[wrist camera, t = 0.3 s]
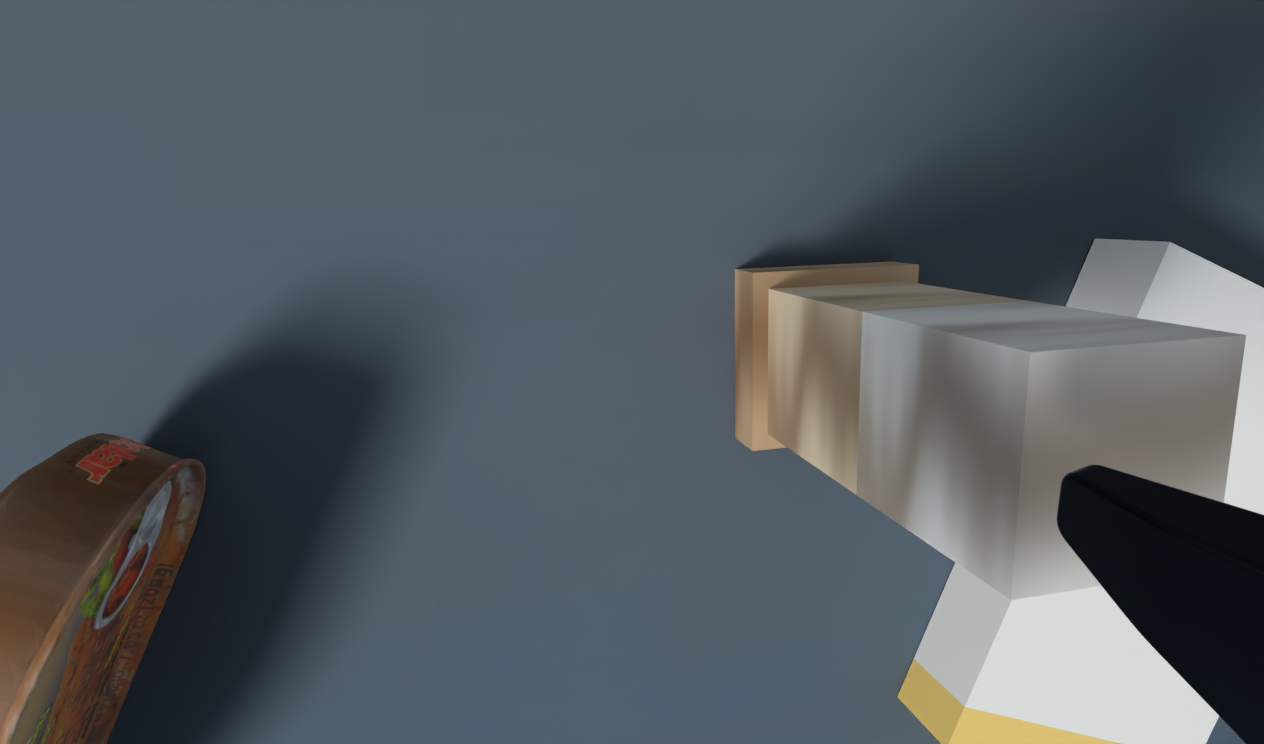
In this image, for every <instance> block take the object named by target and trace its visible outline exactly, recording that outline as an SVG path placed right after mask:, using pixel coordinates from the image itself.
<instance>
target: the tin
mask: <svg viewBox="0 0 1264 744" xmlns="http://www.w3.org/2000/svg"><path fill="white" fill-rule="evenodd" d="M205 487H206V471H205V468H204V465H203V464H202V462H201V461H199V460H197V459H192V458H186V459H182V458H179V457H176V456H173V455H170V454H167V453H165V452H162V451H159V450H156V449H153V448H151V447H148V446H145V445H143V444H140V443H137V442H134V441H132V440H129V439H126V438H123V437H119V436H114V435H110V434H103V433H101V434H95V435H90V436H87V437H85V438H83V439H80V440H78V441H76V442H74V443H72V444H70V445H69V446H67V447H65V448H64V449H62V450H60V451H59V452H57V453H56V454H54V455H53V456H51V457H50V458H48V459H47V460H45V461H43V462H42V463H40V464H38V465H36V466H35V467H33V468H31V469H30V470H28V471H26V472H25V473H23V474H22V475H21V476H19V477H18V478H17V479H16V480H14V481H13V482H12V483H11V484H10V485H9V486H7V487H6V488H5V489H4V490H3V491H2V492H1V493H0V744H107V742H108V739H109V736H110V734H111V732H112V729H113V727H114V724H115V722H116V720H117V717H118V715H119V712H120V710H121V707H122V705H123V703H124V700H125V698H126V696H127V693H128V691H129V688H130V685H131V683H132V681H133V678H134V676H135V674H136V671H137V669H138V666H139V664H140V662H141V659H142V657H143V654H144V652H145V650H146V647H147V645H148V643H149V640H150V638H151V635H152V633H153V630H154V628H155V626H156V624H157V621H158V619H159V616H160V614H161V612H162V609H163V607H164V604H165V602H166V600H167V597H168V595H169V592H170V590H171V588H172V585H173V583H174V580H175V578H176V575H177V573H178V570H179V568H180V566H181V563H182V561H183V558H184V556H185V554H186V551H187V549H188V546H189V543H190V541H191V538H192V535H193V532H194V529H195V527H196V524H197V519H198V516H199V513H200V509H201V505H202V502H203V498H204V493H205Z"/></svg>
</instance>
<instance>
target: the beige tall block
mask: <svg viewBox="0 0 1264 744" xmlns="http://www.w3.org/2000/svg"><path fill="white" fill-rule="evenodd" d="M918 276H919V264H910V263H902V262H893V261H892V262H871V263H851V264H830V265H810V266H789V267H768V268H748V269H735V438H736V439H737V440H739V441H740V442H741V443H743V444H744V445H745V446H746V447H748V448H749V449H750V450H752V451H757V450H767V449H776V448H786V447H787V448H789V449H790V450H792V451H793V452H795V453H796V454H798V455H799V456H800V457H802V458H803V459H805V460H806V461H808V462H809V463H811V464H812V465H814V466H815V467H817V468H818V469H820V470H821V471H822V472H824V473H825V474H827V475H828V476H830V477H831V478H833V479H834V480H836V481H837V482H839V483H840V484H841V485H843V486H844V487H846V488H847V489H849V490H850V491H852V492H853V493H855V494H856V495H858V496H859V497H861V498H862V499H863V500H865V501H866V502H868V503H869V504H871V505H872V506H874V507H875V508H877V509H878V510H880V511H881V512H882V513H884V514H885V515H887V516H888V517H890V518H891V519H893V520H894V521H896V522H897V523H899V524H900V525H901V526H903V527H904V528H906V529H907V530H909V531H910V532H912V533H913V534H915V535H916V536H918V537H919V538H921V539H922V540H923V541H925V542H926V543H928V544H929V545H931V546H932V547H934V548H935V549H937V550H938V551H940V552H941V553H942V554H944V555H945V556H947V557H948V558H950V559H951V560H953V561H954V562H956V563H957V564H959V565H960V566H962V567H963V568H964V569H966V570H967V571H969V572H970V573H972V574H973V575H975V576H976V577H978V578H979V579H981V580H982V581H983V582H985V583H986V584H988V585H989V586H991V587H992V588H994V589H995V590H997V591H998V592H1000V593H1001V594H1003V595H1004V596H1005V597H1007V598H1008V599H1010V600H1015V599H1022V598H1028V597H1034V596H1040V595H1047V594H1053V593H1059V592H1065V591H1072V590H1078V589H1084V588H1091V587H1097V586H1101V585H1100V583H1099V582H1098V581H1097V580H1096V578H1095V577H1094V576H1093V575H1092V573H1091V572H1090V571H1089V570H1088V568H1087V567H1086V566H1085V565H1084V563H1083V562H1082V561H1081V560H1080V558H1079V557H1078V556H1077V555H1076V553H1075V552H1074V551H1073V550H1072V548H1071V547H1070V546H1069V545H1068V543H1067V542H1066V541H1065V540H1064V538H1063V537H1062V535H1061V533H1060V531H1059V528H1058V525H1057V511H1058V503H1059V495H1060V487H1061V482H1062V479H1063V477H1064V476H1065V475H1066V474H1068V473H1070V472H1073V471H1075V470H1077V469H1080V468H1082V467H1085V466H1088V465H1101V466H1105V467H1108V468H1111V469H1115V470H1118V471H1121V472H1124V473H1128V474H1131V475H1134V476H1138V477H1141V478H1144V479H1147V480H1151V481H1154V482H1157V483H1161V484H1164V485H1167V486H1170V487H1174V488H1177V489H1180V490H1184V491H1187V492H1190V493H1194V494H1197V495H1200V496H1203V497H1207V498H1210V499H1213V500H1217V501H1220V502H1223V503H1224V497H1225V490H1226V482H1227V475H1228V467H1229V460H1230V452H1231V445H1232V437H1233V430H1234V423H1235V415H1236V408H1237V400H1238V393H1239V385H1240V378H1241V370H1242V363H1243V355H1244V348H1245V341H1246V335H1243V334H1237V333H1230V332H1224V331H1217V330H1211V329H1205V328H1198V327H1192V326H1186V325H1179V324H1173V323H1166V322H1160V321H1154V320H1147V319H1141V318H1134V317H1128V316H1122V315H1115V314H1109V313H1102V312H1096V311H1090V310H1083V309H1077V308H1071V307H1064V306H1058V305H1051V304H1045V303H1039V302H1032V301H1026V300H1019V299H1013V298H1007V297H1000V296H994V295H987V294H981V293H975V292H968V291H962V290H956V289H949V288H943V287H936V286H930V285H924V284H918Z"/></svg>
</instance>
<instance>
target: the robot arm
mask: <svg viewBox="0 0 1264 744" xmlns="http://www.w3.org/2000/svg"><path fill="white" fill-rule="evenodd" d="M1057 525H1058V528H1059V531H1060V533H1061V535H1062V537H1063V538H1064V540H1065V541H1066V542H1067V543H1068V545H1069V546H1070V547H1071V548H1072V550H1073V551H1074V552H1075V553H1076V555H1077V556H1078V557H1079V558H1080V560H1081V561H1082V562H1083V563H1084V565H1085V566H1086V567H1087V568H1088V570H1089V571H1090V572H1091V573H1092V575H1093V576H1094V577H1095V578H1096V580H1097V581H1098V582H1099V583H1100V585H1101V586H1102V587H1103V588H1104V590H1105V591H1106V592H1107V593H1108V595H1109V596H1110V597H1111V598H1112V600H1113V601H1114V602H1115V603H1116V605H1117V606H1118V607H1119V608H1120V610H1121V611H1122V612H1123V613H1124V615H1125V616H1126V617H1127V618H1128V620H1129V621H1130V622H1131V623H1132V624H1133V625H1134V627H1135V628H1136V629H1137V630H1138V631H1139V632H1140V634H1141V635H1142V636H1143V637H1144V638H1145V639H1146V640H1147V641H1148V642H1149V643H1150V645H1151V646H1152V647H1153V648H1154V649H1155V650H1156V651H1157V652H1158V653H1159V654H1160V655H1161V656H1162V657H1163V658H1164V659H1165V660H1166V661H1167V662H1168V663H1169V664H1170V665H1171V667H1172V668H1173V669H1174V670H1175V671H1176V672H1177V673H1178V674H1179V675H1180V676H1181V677H1182V678H1183V679H1184V680H1185V681H1186V682H1187V683H1188V684H1189V685H1190V686H1191V687H1192V688H1193V689H1194V690H1195V691H1196V692H1197V693H1198V694H1199V695H1200V696H1201V698H1202V699H1203V700H1204V701H1205V702H1206V703H1207V704H1208V705H1209V706H1210V707H1211V708H1212V709H1213V710H1214V711H1215V712H1216V713H1217V714H1218V715H1219V716H1220V717H1221V718H1222V719H1223V720H1224V721H1225V722H1226V723H1227V724H1228V725H1229V726H1230V727H1231V728H1232V730H1233V731H1234V732H1235V733H1236V734H1237V735H1238V736H1239V737H1240V738H1241V739H1242V740H1243V741H1244V742H1245V743H1246V744H1264V515H1263V514H1259V513H1256V512H1253V511H1249V510H1246V509H1243V508H1240V507H1236V506H1233V505H1230V504H1226V503H1223V502H1220V501H1217V500H1213V499H1210V498H1207V497H1203V496H1200V495H1197V494H1194V493H1190V492H1187V491H1184V490H1180V489H1177V488H1174V487H1170V486H1167V485H1164V484H1161V483H1157V482H1154V481H1151V480H1147V479H1144V478H1141V477H1138V476H1134V475H1131V474H1128V473H1124V472H1121V471H1118V470H1115V469H1111V468H1108V467H1105V466H1101V465H1088V466H1085V467H1082V468H1080V469H1077V470H1075V471H1073V472H1070V473H1068V474H1066V475H1065V476H1064V477H1063V479H1062V482H1061V487H1060V495H1059V503H1058V511H1057Z"/></svg>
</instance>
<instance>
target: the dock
mask: <svg viewBox="0 0 1264 744" xmlns="http://www.w3.org/2000/svg"><path fill="white" fill-rule="evenodd" d="M1065 307H1071V308H1077V309H1083V310H1090V311H1096V312H1102V313H1109V314H1115V315H1122V316H1128V317H1134V318H1141V319H1147V320H1154V321H1160V322H1166V323H1173V324H1179V325H1186V326H1192V327H1198V328H1205V329H1211V330H1217V331H1224V332H1230V333H1237V334H1243V335H1246V341H1245V348H1244V355H1243V363H1242V370H1241V378H1240V385H1239V393H1238V400H1237V408H1236V415H1235V423H1234V430H1233V437H1232V445H1231V452H1230V460H1229V467H1228V475H1227V482H1226V490H1225V497H1224V503H1226V504H1230V505H1233V506H1236V507H1240V508H1243V509H1246V510H1249V511H1253V512H1256V513H1259V514H1263V515H1264V288H1263V287H1261V286H1259V285H1257V284H1255V283H1253V282H1251V281H1249V280H1247V279H1245V278H1243V277H1241V276H1239V275H1236V274H1234V273H1232V272H1230V271H1228V270H1226V269H1224V268H1222V267H1220V266H1218V265H1216V264H1214V263H1212V262H1210V261H1208V260H1206V259H1204V258H1202V257H1200V256H1198V255H1196V254H1194V253H1192V252H1190V251H1188V250H1186V249H1184V248H1181V247H1179V246H1177V245H1175V244H1173V243H1171V242H1161V241H1140V240H1118V239H1096V238H1095V239H1094V241H1093V244H1092V246H1091V248H1090V251H1089V253H1088V255H1087V258H1086V260H1085V262H1084V265H1083V267H1082V269H1081V272H1080V274H1079V276H1078V279H1077V281H1076V283H1075V286H1074V288H1073V290H1072V293H1071V295H1070V297H1069V300H1068V302H1067V304H1066V306H1065ZM897 697H898V698H899V699H900V700H901V701H902V702H903V703H904V705H905V706H906V707H907V708H908V709H909V710H910V711H911V712H912V713H913V714H914V715H915V716H916V717H917V718H918V719H919V720H920V722H921V723H922V724H923V725H924V726H925V727H926V728H927V729H928V730H929V731H930V732H931V733H932V734H933V735H934V736H935V738H936V739H937V740H938V741H939V742H940V743H941V744H1206V742H1207V740H1208V738H1209V736H1210V734H1211V732H1212V730H1213V728H1214V725H1215V723H1216V721H1217V719H1218V717H1219V715H1218V714H1217V713H1216V712H1215V711H1214V710H1213V709H1212V708H1211V707H1210V706H1209V705H1208V704H1207V703H1206V702H1205V701H1204V700H1203V699H1202V698H1201V696H1200V695H1199V694H1198V693H1197V692H1196V691H1195V690H1194V689H1193V688H1192V687H1191V686H1190V685H1189V684H1188V683H1187V682H1186V681H1185V680H1184V679H1183V678H1182V677H1181V676H1180V675H1179V674H1178V673H1177V672H1176V671H1175V670H1174V669H1173V668H1172V667H1171V665H1170V664H1169V663H1168V662H1167V661H1166V660H1165V659H1164V658H1163V657H1162V656H1161V655H1160V654H1159V653H1158V652H1157V651H1156V650H1155V649H1154V648H1153V647H1152V646H1151V645H1150V643H1149V642H1148V641H1147V640H1146V639H1145V638H1144V637H1143V636H1142V635H1141V634H1140V632H1139V631H1138V630H1137V629H1136V628H1135V627H1134V625H1133V624H1132V623H1131V622H1130V621H1129V620H1128V618H1127V617H1126V616H1125V615H1124V613H1123V612H1122V611H1121V610H1120V608H1119V607H1118V606H1117V605H1116V603H1115V602H1114V601H1113V600H1112V598H1111V597H1110V596H1109V595H1108V593H1107V592H1106V591H1105V590H1104V588H1103V587H1102V586H1097V587H1091V588H1084V589H1078V590H1072V591H1065V592H1059V593H1053V594H1047V595H1040V596H1034V597H1028V598H1022V599H1015V600H1010V599H1008V598H1007V597H1005V596H1004V595H1003V594H1001V593H1000V592H998V591H997V590H995V589H994V588H992V587H991V586H989V585H988V584H986V583H985V582H983V581H982V580H981V579H979V578H978V577H976V576H975V575H973V574H972V573H970V572H969V571H967V570H966V569H964V568H963V567H962V566H960V565H959V564H957V563H956V562H955V564H954V566H953V569H952V571H951V573H950V576H949V578H948V580H947V583H946V585H945V587H944V590H943V592H942V594H941V597H940V599H939V601H938V604H937V606H936V608H935V611H934V613H933V615H932V618H931V620H930V622H929V624H928V627H927V629H926V631H925V634H924V636H923V638H922V641H921V643H920V645H919V648H918V650H917V652H916V655H915V657H914V659H913V662H912V664H911V666H910V669H909V671H908V673H907V676H906V678H905V680H904V683H903V685H902V687H901V689H900V692H899V694H898V696H897Z"/></svg>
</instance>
